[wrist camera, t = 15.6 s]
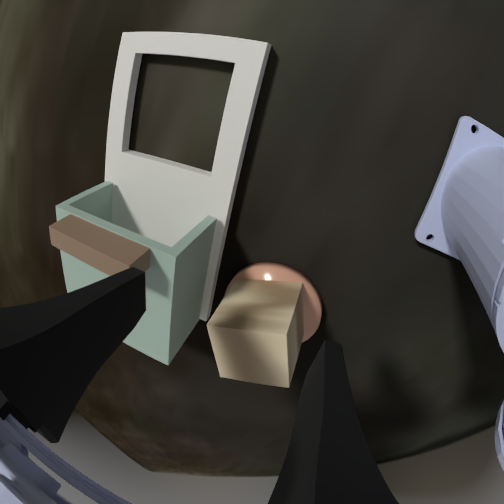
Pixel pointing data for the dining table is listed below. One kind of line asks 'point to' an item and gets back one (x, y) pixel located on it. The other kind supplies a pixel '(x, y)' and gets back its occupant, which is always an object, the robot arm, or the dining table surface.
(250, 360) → the block
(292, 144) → the dining table surface
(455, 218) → the robot arm
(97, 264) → the pale green open box
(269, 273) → the coaster
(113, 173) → the board
